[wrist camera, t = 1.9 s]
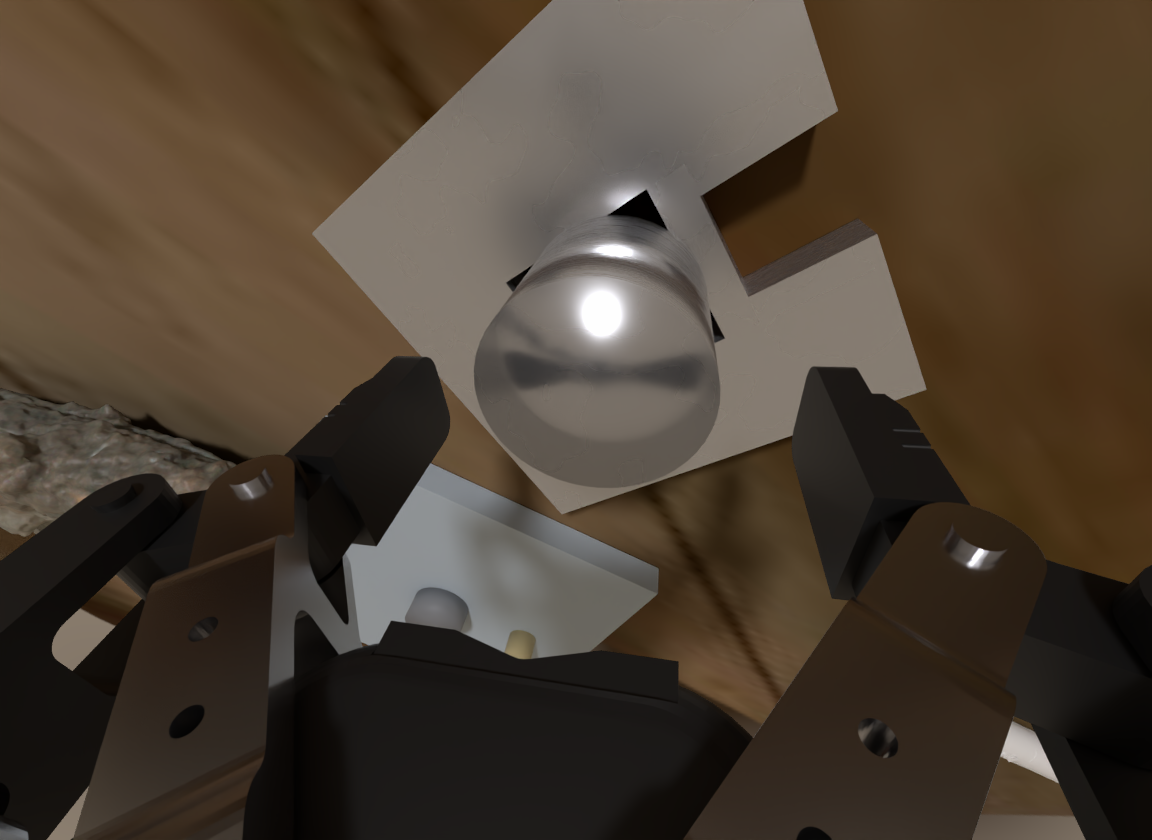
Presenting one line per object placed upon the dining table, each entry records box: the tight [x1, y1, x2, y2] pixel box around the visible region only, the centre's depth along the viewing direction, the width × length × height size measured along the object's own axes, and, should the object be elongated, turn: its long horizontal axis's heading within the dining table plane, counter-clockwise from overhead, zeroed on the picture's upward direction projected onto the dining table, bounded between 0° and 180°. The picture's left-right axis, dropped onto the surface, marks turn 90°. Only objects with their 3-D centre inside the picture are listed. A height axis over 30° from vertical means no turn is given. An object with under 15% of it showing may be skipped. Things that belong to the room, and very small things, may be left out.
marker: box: [1000, 721, 1059, 783], centre depth 27 cm, size 18×2×2 cm, turn 63°
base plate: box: [325, 416, 659, 659], centre depth 27 cm, size 18×18×4 cm
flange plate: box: [312, 0, 926, 514], centre depth 13 cm, size 14×14×7 cm
